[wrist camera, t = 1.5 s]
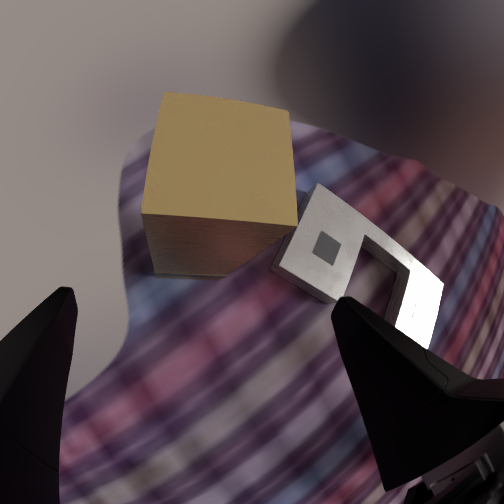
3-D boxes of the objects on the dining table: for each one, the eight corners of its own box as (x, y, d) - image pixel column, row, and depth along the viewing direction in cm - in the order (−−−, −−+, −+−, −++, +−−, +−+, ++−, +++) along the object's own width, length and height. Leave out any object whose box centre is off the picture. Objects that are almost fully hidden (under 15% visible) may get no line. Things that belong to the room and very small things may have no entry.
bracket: (411, 353, 24) (426, 354, 22) (269, 269, 22) (279, 265, 20) (430, 286, 27) (443, 283, 25) (306, 192, 24) (318, 182, 22)
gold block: (219, 281, 20) (299, 228, 8) (155, 278, 19) (139, 214, 7) (220, 220, 22) (289, 110, 9) (160, 216, 20) (162, 90, 8)
